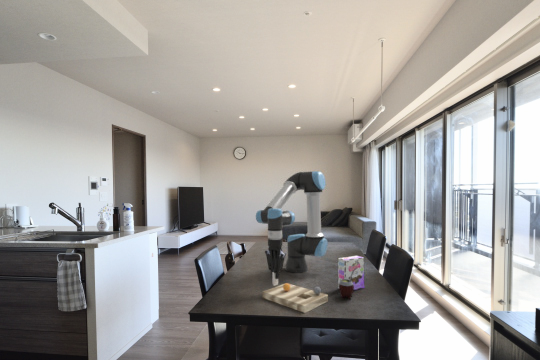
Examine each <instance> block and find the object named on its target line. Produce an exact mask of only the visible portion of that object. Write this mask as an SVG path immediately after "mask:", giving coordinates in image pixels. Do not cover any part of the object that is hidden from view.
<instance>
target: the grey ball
mask: <svg viewBox="0 0 540 360" xmlns="http://www.w3.org/2000/svg"><path fill="white" fill-rule="evenodd" d="M312 290H313V291H314V293H315V294H316V295H319V294H320V293H322V288H320V286H314V288H313V289H312Z"/></svg>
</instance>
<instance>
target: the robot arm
mask: <svg viewBox="0 0 540 360" xmlns="http://www.w3.org/2000/svg"><path fill="white" fill-rule="evenodd" d="M326 185H327V184H326V178H325V175H324V173H322V172H321V171H318V170H317V171H315V170H313V171H299V172H296V173H294V174H293V175H291V176H289V177H288V178H286V180H285V181H284V182H283V185H282V187H281V189H280V190H279V191H278V192H277V193H276V195H275V196H274V197H273V198H272V200H270V202H269V203H268V204H267V205H266V207H264V209H260V210H257V212H256V213H255V220H256V222H257V223H259V224H262V225H267V238H268V239H267V246H268V248H267V250H264V254H265V256H266V261H267V268H268V270H269V271H270V272H271V278H272V286H274V287H276V286H279V278H280V272H282V271H283V270H285V271H286V272H290V273H304V272H307V271H308V270H309V266H308V263H307V260H306V256H310V257H316V258H320V257H321V258H323V256H325V255H326V252H327V251H328V242H329V241H328V239H327V238H325V237H324V236H325V235H324V233H322V221H321V220H322V218H321V217H322V215H321V213H322V212H321V194H323V190H325V188H326ZM297 191H303V193H304V195H306V217H307V218H306V221H307V222H306V223H307V233H296V234H290V235H288V236H287V240H286V241H287V242H286V243H287V245H286V246H287V254H286V253H284V252H283V248H282V247H283V227H284V226H290V225H293V223H295V220H296V216H295V213H294V212H293V211H292V210H291V211H290V210H283V209H282V208H283V207H284V206H285V204H286V203H287V202H288V200H289V199H290V197H291V196H292V195H293V194H296V192H297ZM286 255H287V259H286V263H285V266H284V262H285V257H286ZM283 267H284V269H283Z"/></svg>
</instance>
